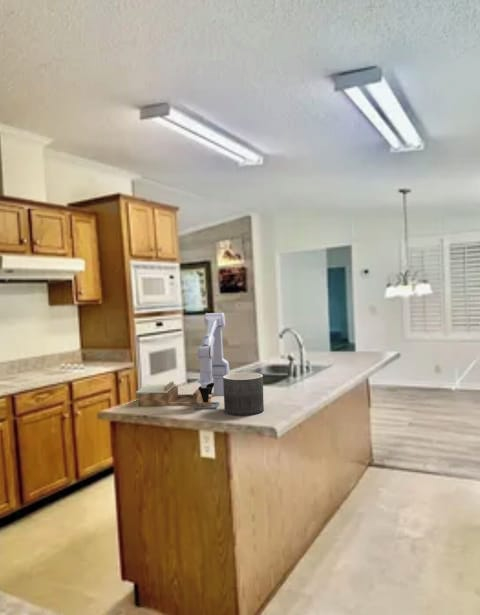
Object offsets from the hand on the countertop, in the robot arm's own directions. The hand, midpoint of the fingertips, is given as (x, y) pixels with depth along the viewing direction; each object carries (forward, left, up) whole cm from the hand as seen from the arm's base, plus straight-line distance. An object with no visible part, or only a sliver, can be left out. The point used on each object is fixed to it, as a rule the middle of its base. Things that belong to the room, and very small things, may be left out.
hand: (207, 400), depth 228 cm
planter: (-18, +7, -3) cm, 20 cm away
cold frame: (+20, -12, -3) cm, 23 cm away
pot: (0, 0, -3) cm, 3 cm away
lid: (+28, -12, +3) cm, 30 cm away
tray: (0, 0, -3) cm, 3 cm away
